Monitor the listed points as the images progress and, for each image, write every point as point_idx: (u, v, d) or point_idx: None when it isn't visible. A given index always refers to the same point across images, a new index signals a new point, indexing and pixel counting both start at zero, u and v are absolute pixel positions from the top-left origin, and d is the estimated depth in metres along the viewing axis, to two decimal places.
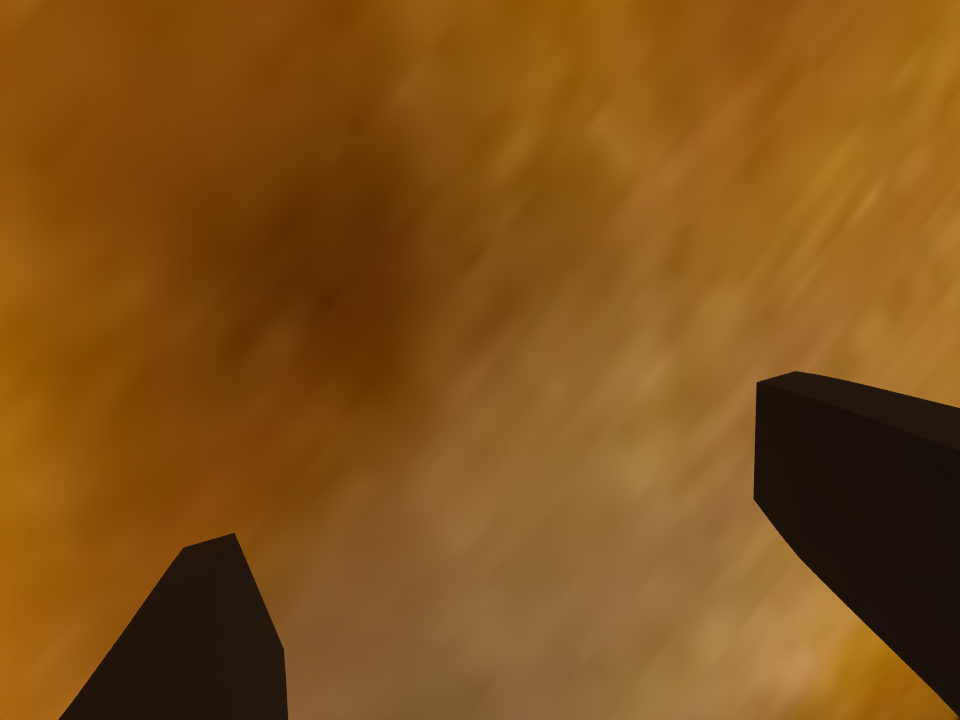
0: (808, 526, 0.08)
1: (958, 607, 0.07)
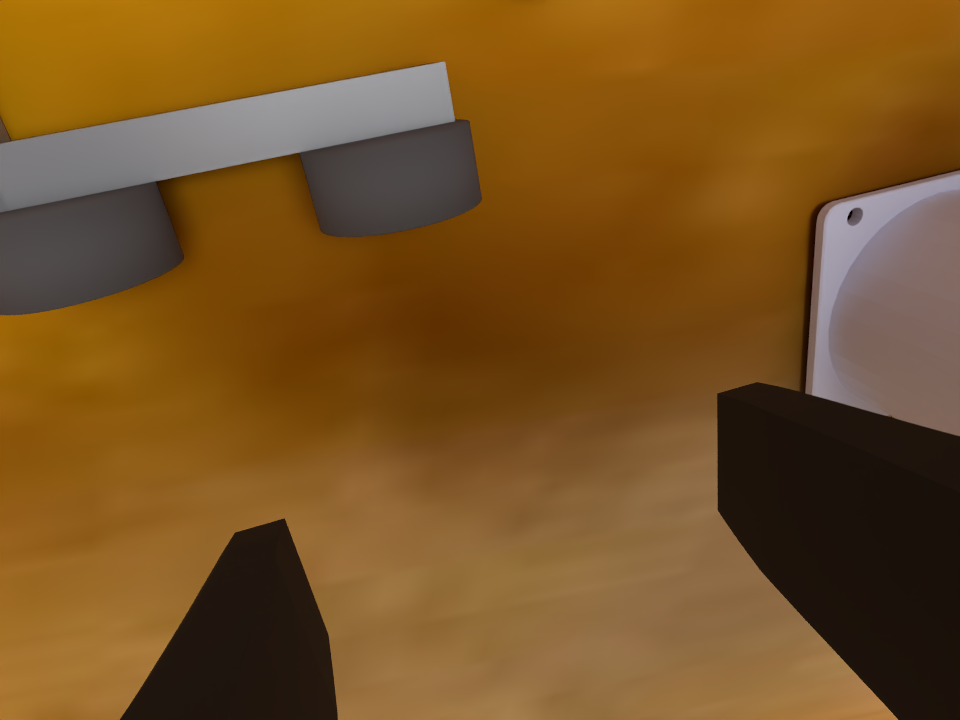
0: (768, 539, 0.08)
1: (909, 625, 0.07)
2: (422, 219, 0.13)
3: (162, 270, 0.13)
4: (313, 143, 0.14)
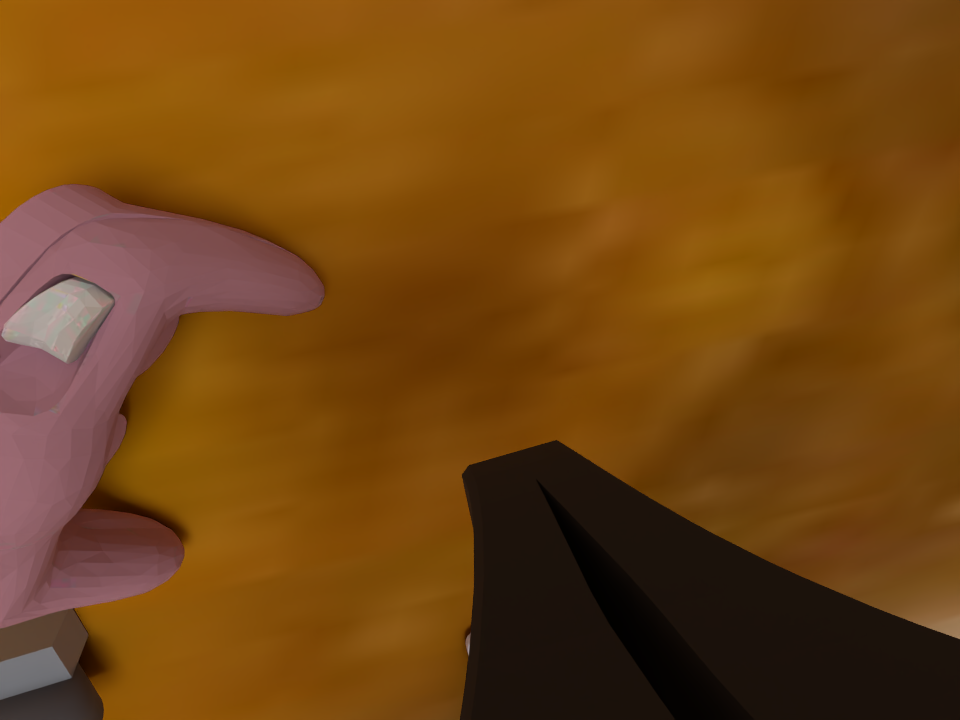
0: None
1: None
2: None
3: None
4: None
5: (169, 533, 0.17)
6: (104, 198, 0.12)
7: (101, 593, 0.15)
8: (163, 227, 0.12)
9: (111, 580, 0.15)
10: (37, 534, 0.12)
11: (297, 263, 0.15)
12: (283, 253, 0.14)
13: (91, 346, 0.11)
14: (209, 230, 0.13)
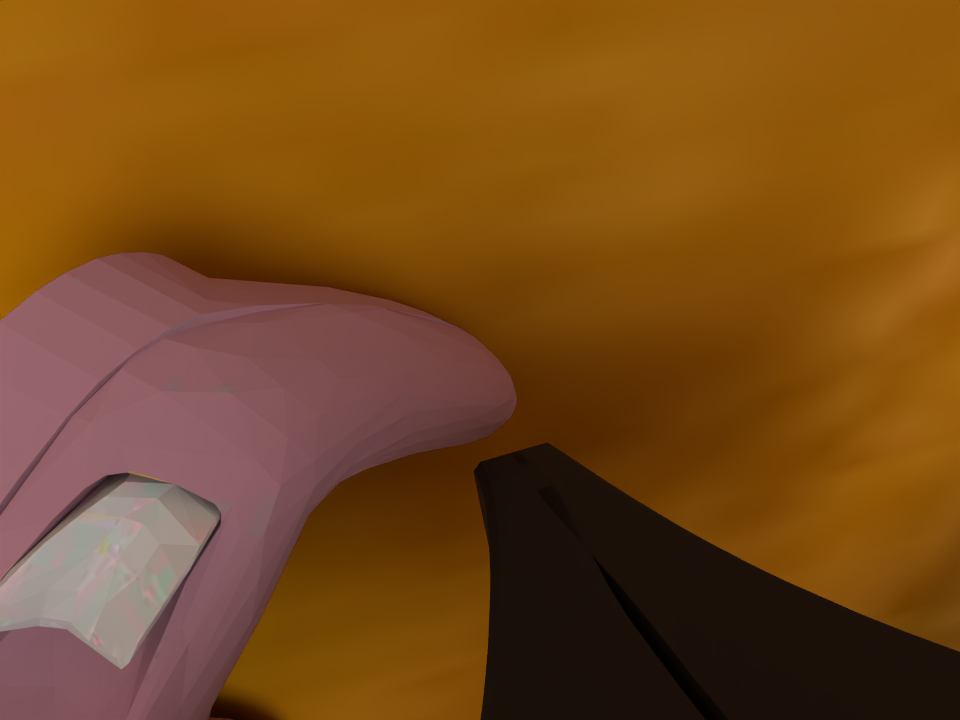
0: None
1: None
2: None
3: None
4: None
5: None
6: (179, 279, 0.06)
7: None
8: (294, 329, 0.06)
9: None
10: None
11: (483, 351, 0.09)
12: (461, 336, 0.09)
13: (170, 613, 0.05)
14: (364, 319, 0.07)
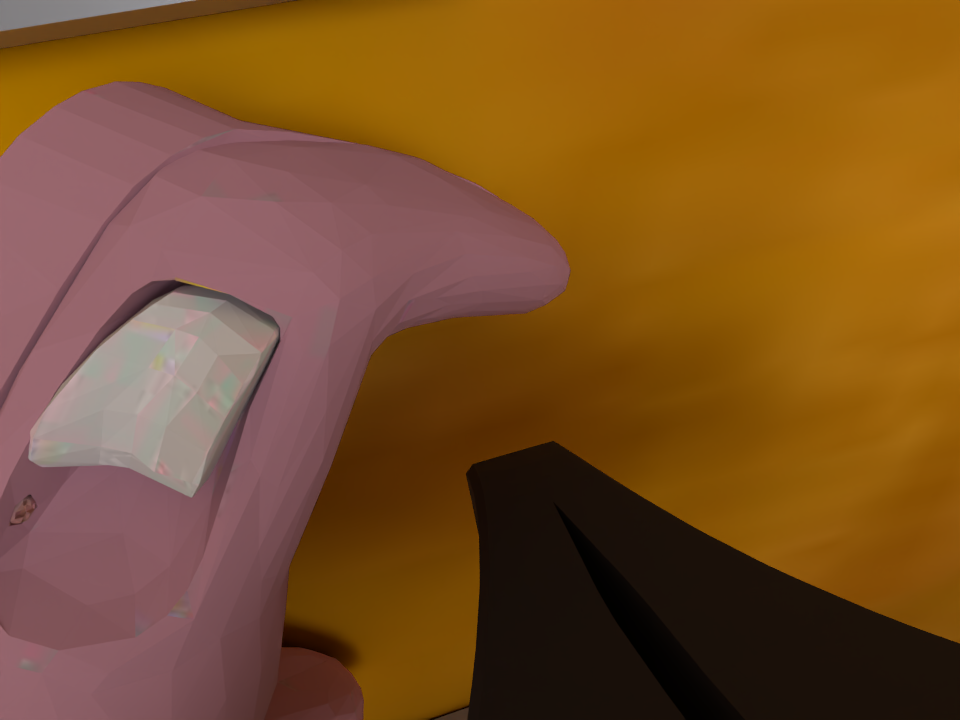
0: None
1: None
2: None
3: None
4: None
5: (336, 669, 0.11)
6: (206, 106, 0.05)
7: None
8: (334, 157, 0.05)
9: None
10: None
11: (530, 217, 0.08)
12: (505, 202, 0.08)
13: (237, 444, 0.05)
14: (405, 162, 0.06)
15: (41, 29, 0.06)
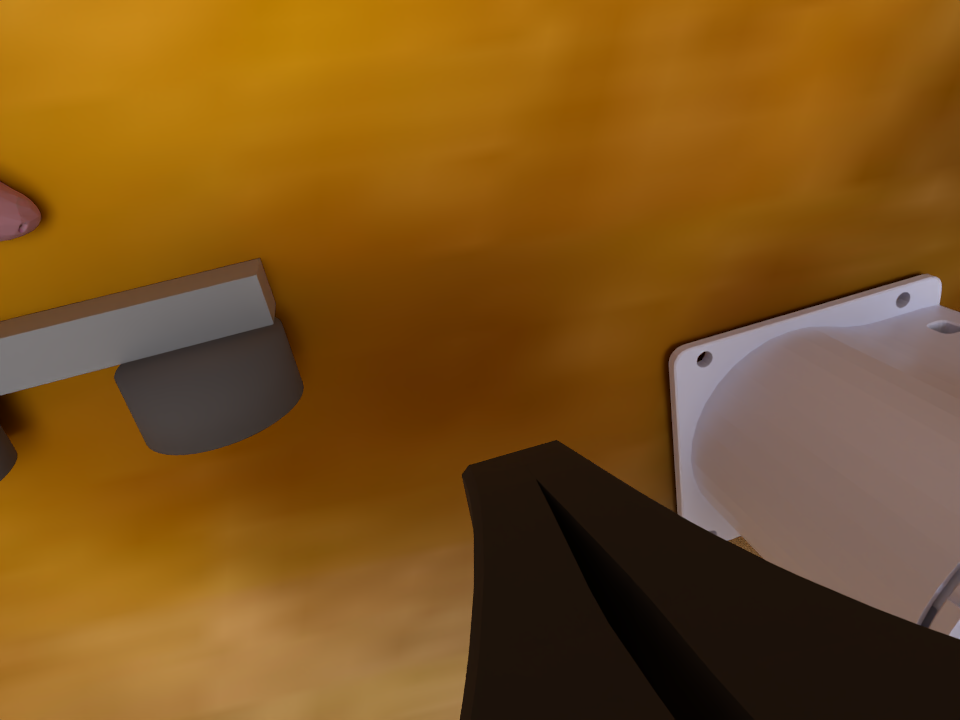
0: None
1: None
2: (225, 440, 0.13)
3: None
4: (133, 355, 0.14)
5: None
6: None
7: None
8: None
9: None
10: None
11: None
12: None
13: None
14: None
15: None
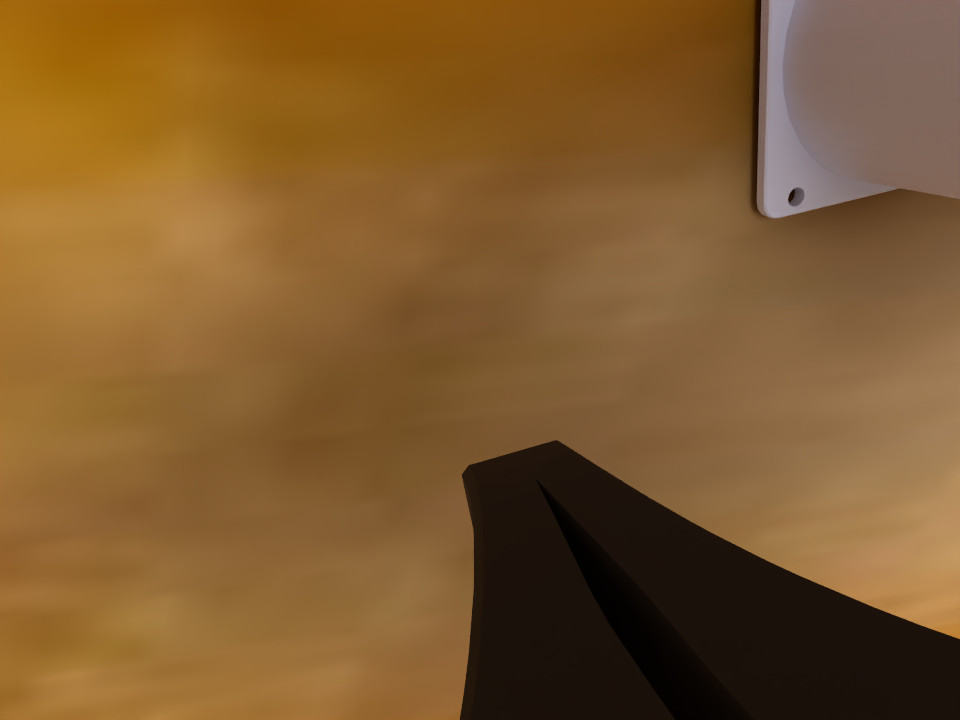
0: None
1: None
2: None
3: None
4: None
5: None
6: None
7: None
8: None
9: None
10: None
11: None
12: None
13: None
14: None
15: None
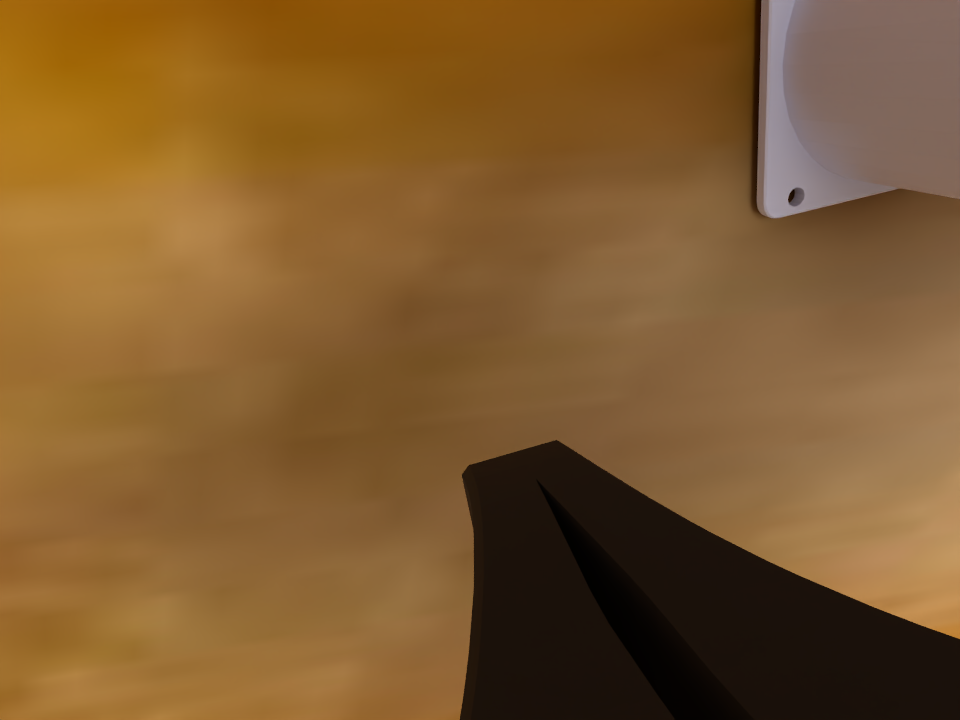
0: None
1: None
2: None
3: None
4: None
5: None
6: None
7: None
8: None
9: None
10: None
11: None
12: None
13: None
14: None
15: None
